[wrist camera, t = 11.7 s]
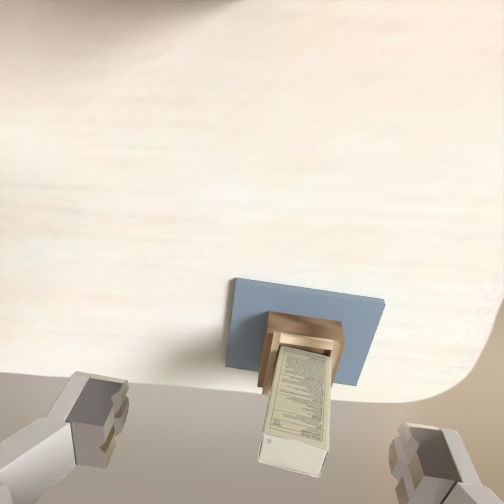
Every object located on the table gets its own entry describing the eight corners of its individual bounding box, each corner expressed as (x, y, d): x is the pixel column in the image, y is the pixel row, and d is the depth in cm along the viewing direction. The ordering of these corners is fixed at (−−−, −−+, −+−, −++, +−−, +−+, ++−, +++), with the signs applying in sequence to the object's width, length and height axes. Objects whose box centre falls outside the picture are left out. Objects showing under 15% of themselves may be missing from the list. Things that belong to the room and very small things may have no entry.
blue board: (226, 361, 55) (225, 366, 54) (236, 277, 48) (235, 282, 47) (354, 380, 55) (356, 386, 54) (383, 299, 48) (385, 304, 47)
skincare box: (274, 370, 48) (253, 461, 38) (280, 342, 46) (260, 432, 35) (326, 383, 47) (319, 480, 37) (334, 355, 45) (329, 451, 35)
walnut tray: (259, 365, 53) (256, 393, 49) (269, 308, 49) (267, 335, 44) (325, 375, 53) (328, 404, 49) (341, 319, 49) (346, 346, 44)
